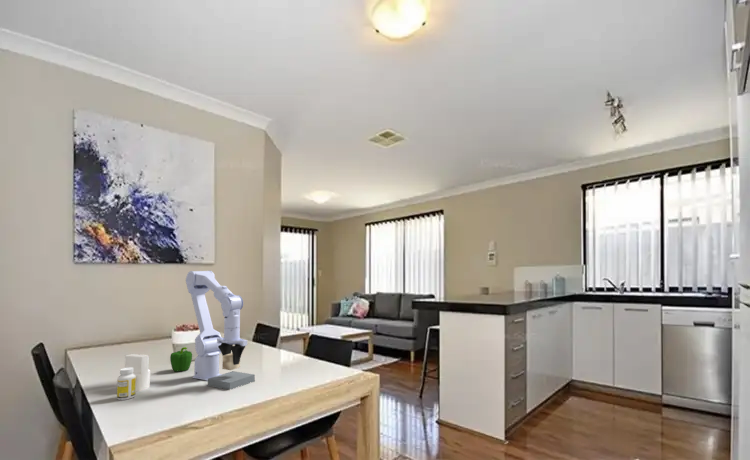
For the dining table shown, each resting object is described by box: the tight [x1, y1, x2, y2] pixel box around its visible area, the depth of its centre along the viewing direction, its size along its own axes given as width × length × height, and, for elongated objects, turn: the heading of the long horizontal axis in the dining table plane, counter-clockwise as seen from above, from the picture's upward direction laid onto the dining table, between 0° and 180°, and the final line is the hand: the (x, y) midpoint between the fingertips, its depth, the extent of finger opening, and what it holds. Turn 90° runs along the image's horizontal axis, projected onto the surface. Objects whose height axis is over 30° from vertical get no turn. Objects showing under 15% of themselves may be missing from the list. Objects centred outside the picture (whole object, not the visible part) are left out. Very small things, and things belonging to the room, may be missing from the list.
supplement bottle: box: [116, 367, 136, 401], centre depth 139 cm, size 5×5×10 cm
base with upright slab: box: [124, 353, 151, 393], centre depth 150 cm, size 9×9×12 cm
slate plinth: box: [207, 370, 256, 390], centre depth 153 cm, size 12×12×2 cm
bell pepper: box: [169, 346, 193, 372], centre depth 174 cm, size 8×8×10 cm
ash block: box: [221, 352, 241, 371], centre depth 153 cm, size 4×4×5 cm
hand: (231, 363), depth 154 cm, fingers closed on ash block, 4 cm apart
